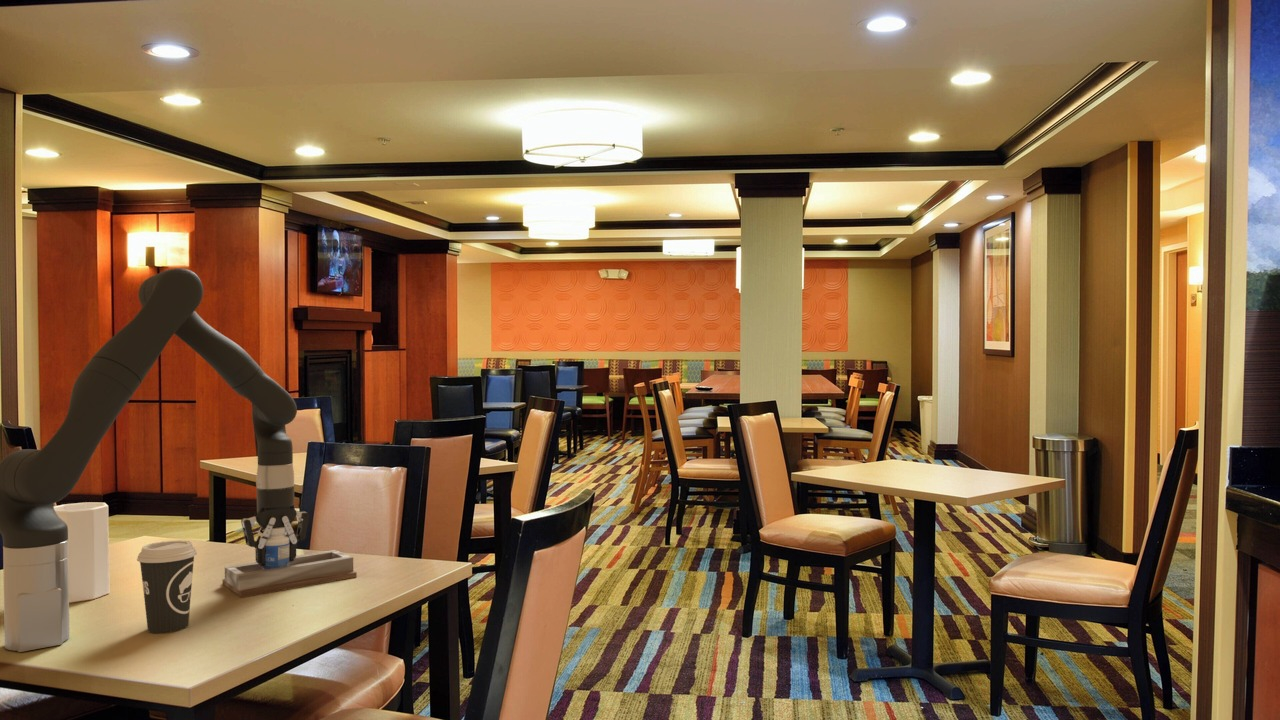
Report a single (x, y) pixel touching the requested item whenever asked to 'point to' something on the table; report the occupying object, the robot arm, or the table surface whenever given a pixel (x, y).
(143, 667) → the table surface
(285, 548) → the pill bottle
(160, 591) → the coffee cup
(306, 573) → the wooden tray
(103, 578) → the cup
